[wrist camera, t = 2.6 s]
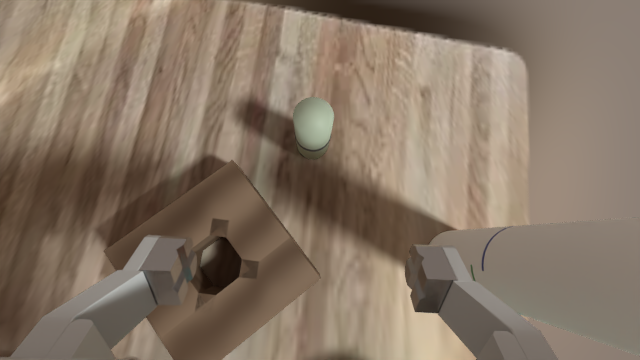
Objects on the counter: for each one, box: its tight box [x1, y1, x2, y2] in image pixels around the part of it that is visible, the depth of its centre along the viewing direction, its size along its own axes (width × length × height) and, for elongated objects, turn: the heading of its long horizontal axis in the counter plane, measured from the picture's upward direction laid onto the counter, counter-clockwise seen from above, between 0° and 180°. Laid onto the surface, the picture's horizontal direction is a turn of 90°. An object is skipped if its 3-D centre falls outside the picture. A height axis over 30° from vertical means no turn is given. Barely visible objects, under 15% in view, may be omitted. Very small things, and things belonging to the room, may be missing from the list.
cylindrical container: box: [429, 217, 640, 356], centre depth 25 cm, size 7×7×25 cm
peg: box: [293, 97, 334, 160], centre depth 35 cm, size 4×4×10 cm
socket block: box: [104, 160, 321, 360], centre depth 34 cm, size 16×16×5 cm
